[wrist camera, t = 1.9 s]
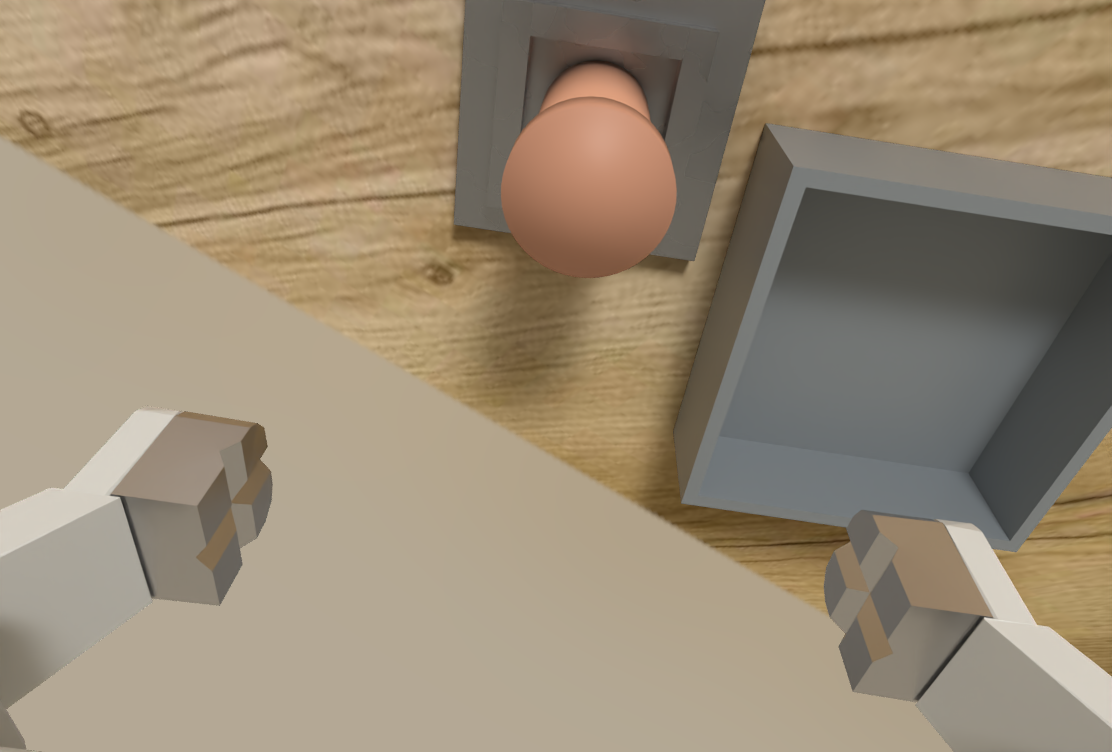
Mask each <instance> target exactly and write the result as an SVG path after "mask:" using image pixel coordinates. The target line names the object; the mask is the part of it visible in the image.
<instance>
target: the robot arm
mask: <svg viewBox="0 0 1112 752" xmlns="http://www.w3.org/2000/svg"><path fill="white" fill-rule="evenodd" d="M266 448H267V440H266V435H265V430H264V427H262V426H261V425H259V424H258V423H252V422H246V421H240V420H234V419H228V418H222V417H216V416H210V415H204V414H198V413H192V412H186V411H185V412H181V411H175V410H169V409H164V408H158V407H152V406H146V407H143V408H140V409H138V410H136V411H135V412H134V413H133V414H132V415H131V416H130V417H129V418H128V419H127V420H126V422H125V423H124V424H123V425H122V426H121V427H120V428H119V429H118V430H117V431H116V432H115V433H114V434H113V436H112V437H111V438H110V439H109V440H108V441H107V442H106V443H105V444H104V445H103V446H102V448H101V449H100V450H99V451H98V452H97V453H96V454H95V455H94V456H93V457H92V458H91V459H90V461H89V462H88V463H87V464H86V465H85V466H84V467H83V468H82V469H81V470H80V471H79V472H78V474H77V475H76V476H75V477H74V478H73V479H72V480H71V481H70V482H69V483H68V484H67V485H66V487H65V488H64V489H57V488H49V489H47V490H44V491H42V492H40V493H38V494H35V495H33V496H31V497H29V498H26V499H24V500H22V501H19V502H17V503H15V504H13V505H10V506H8V507H6V508H3V509H1V510H0V752H40V751H32V750H26V745H25V741H24V738H23V737H22V735H21V733H20V732H19V730H18V728H17V727H16V725H15V723H14V722H13V720H12V718H11V717H10V715H9V713H8V712H7V710H6V709H7V708H8V707H10V706H11V705H12V704H14V703H15V702H17V701H18V700H19V699H21V698H22V697H24V696H25V695H26V694H27V693H29V692H30V691H32V690H33V689H34V688H36V687H37V686H39V685H40V684H41V683H43V682H44V681H45V680H47V679H48V678H50V677H51V676H52V675H54V674H55V673H56V672H58V671H59V670H60V669H62V668H63V667H65V666H66V665H67V664H69V663H70V662H71V661H73V660H74V659H75V658H77V657H78V656H80V655H81V654H82V653H84V652H85V651H86V650H88V649H89V648H91V647H92V646H93V645H95V644H96V643H97V642H99V641H100V640H101V639H103V638H104V637H106V636H107V635H108V634H110V633H111V632H112V631H114V630H115V629H116V628H118V627H119V626H120V625H122V624H123V623H125V622H126V621H127V620H129V619H130V618H132V617H133V616H134V615H136V614H137V613H138V612H140V611H141V610H142V609H144V608H145V607H147V606H148V605H149V604H151V603H152V598H154V599H164V600H172V601H182V602H191V603H200V604H209V605H219V606H220V604H221V603H222V601H223V599H224V597H225V595H226V593H227V592H228V590H229V588H230V586H231V584H232V583H233V581H234V579H235V577H236V575H237V574H238V572H239V570H240V568H241V566H242V558H241V553H240V548H241V547H243V546H245V545H246V544H248V543H250V542H251V541H253V540H255V539H256V538H257V537H258V535H259V533H260V531H261V529H262V527H263V525H264V523H265V521H266V518H267V514H268V511H269V508H270V504H271V500H272V476H271V471H270V470H269V469H268V467H267V466H266V465H265V464H264V463H263V462H262V461H261V460H260V458H261V457H262V455H263V453H264V452H265V450H266ZM846 530H847V532H848V535H849V538H850V541H851V542H849V543H847V544H845V545H844V546H842V547H840V548H838V549H836V550H835V551H834V552H833V554H832V557H831V559H830V561H829V563H828V565H827V567H826V574H825V581H824V594H825V602H826V606H827V609H828V613H829V616H830V618H831V619H832V620H833V621H834V622H835V623H836V624H837V625H838V626H839V627H840V628H841V630H842V631H844V633H845V635H844V637H843V639H842V641H841V643H840V645H839V649H840V652H841V656H842V659H843V662H844V665H845V668H846V671H847V675H848V678H849V681H850V684H851V688H852V691H853V692H857V693H863V694H869V695H876V696H881V697H888V698H894V699H900V700H906V701H912V702H917V704H916V707H917V708H918V709H919V710H920V712H921V713H922V714H923V715H924V716H925V717H926V719H927V720H928V721H929V722H930V723H931V725H932V726H933V727H934V728H935V730H936V731H937V732H938V733H939V735H940V736H941V737H942V738H943V739H944V741H945V742H946V743H947V744H948V745H949V747H950V748H951V749H952V750H953V751H954V752H1112V676H1110V675H1109V674H1108V673H1107V672H1105V671H1104V670H1103V669H1101V668H1100V667H1099V666H1098V665H1096V664H1095V663H1094V662H1093V661H1091V660H1090V659H1089V658H1088V657H1086V656H1085V655H1084V654H1083V653H1081V652H1080V651H1079V650H1077V649H1076V648H1075V647H1074V646H1072V645H1071V644H1070V643H1069V642H1067V641H1066V640H1065V639H1064V638H1062V637H1061V636H1060V635H1058V634H1057V633H1056V632H1055V631H1053V630H1052V629H1051V628H1050V627H1046V626H1040V625H1037V624H1036V623H1035V621H1034V619H1033V617H1032V616H1031V614H1030V612H1029V611H1028V609H1027V607H1026V606H1025V604H1024V602H1023V600H1022V599H1021V597H1020V595H1019V594H1018V592H1017V590H1016V589H1015V587H1014V585H1013V583H1012V582H1011V580H1010V578H1009V577H1008V575H1007V573H1006V572H1005V570H1004V568H1003V567H1002V565H1001V563H1000V561H999V560H998V558H997V556H996V555H995V553H994V551H993V550H992V548H991V546H990V544H989V543H988V541H987V539H986V538H985V536H984V534H983V533H982V531H981V530H980V529H978V528H977V527H976V526H975V525H973V524H971V523H963V522H955V521H947V520H939V519H934V520H932V519H928V518H921V517H913V516H906V515H898V514H891V513H884V512H876V511H869V510H860V511H859V512H858V513H857V514H855V515H854V516H853V518H852V519H851V521H850V523H849V525H848V526H847V528H846Z"/></svg>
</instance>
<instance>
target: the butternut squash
mask: <svg viewBox="0 0 1112 752" xmlns="http://www.w3.org/2000/svg"><path fill="white" fill-rule="evenodd" d="M676 193H677V189H676V179H675V174H674V170H673V165H672V161H671V157H670V153H669V150H668V148H667V145H666V143H665V141H664V139H663V138H662V136H661V134H660V133H659V131H658V130H657V129H656V127H655V126H654V125H653V124H652V123H651V120H650V114H649V108H648V103H647V99H646V96H645V94H644V91H643V89H642V88H641V86H640V84H639V83H638V81H637V80H636V79H635V78H634V77H633V76H632V75H631V74H630V73H629V72H628V71H626V70H625V69H623V68H622V67H620V66H618V65H615V64H613V63H610V62H605V61H586V62H581V63H578V64H576V65H573V66H571V67H569V68H568V69H566V70H565V71H563V72H562V73H561V74H560V75H559V76H558V77H556V79H555V80H554V81H553V82H552V84H551V85H550V87H549V88H548V90H547V92H546V94H545V97H544V100H543V103H542V106H541V109H540V112H539V114H538V115H537V116H535V117H534V118H533V119H532V120H531V121H530V122H529V123H528V124H527V125H526V127H525V128H524V129H523V130H522V132H521V133H520V135H519V136H518V138H517V139H516V141H515V144H514V146H513V148H512V150H511V153H510V155H509V158H508V160H507V163H506V166H505V169H504V173H503V177H502V184H501V202H502V209H503V213H504V217H505V220H506V222H507V225H508V228H509V229H510V231H511V233H512V235H513V237H514V238H515V240H516V241H517V242H518V244H519V245H520V246H521V248H522V249H523V250H524V251H525V252H526V253H527V254H528V255H529V256H531V257H532V258H533V259H534V260H535V261H537V262H538V263H540V264H542V265H543V266H545V267H547V268H549V269H551V270H553V271H555V272H558V273H561V274H564V275H569V276H573V277H582V278H597V277H604V276H609V275H613V274H616V273H619V272H622V271H624V270H627V269H629V268H630V267H632V266H634V265H636V264H637V263H639V262H640V261H642V260H643V259H644V258H646V257H647V256H648V255H649V254H650V253H651V252H652V251H653V250H654V249H655V248H656V247H657V245H658V244H659V243H660V242H661V240H662V239H663V237H664V236H665V234H666V232H667V230H668V228H669V226H670V224H671V221H672V218H673V215H674V211H675V205H676Z"/></svg>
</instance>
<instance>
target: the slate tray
mask: <svg viewBox="0 0 1112 752" xmlns="http://www.w3.org/2000/svg"><path fill="white" fill-rule="evenodd" d="M1111 428H1112V178H1110V177H1103V176H1097V175H1091V174H1084V173H1078V172H1072V171H1065V170H1059V169H1053V168H1046V167H1040V166H1034V165H1027V164H1021V163H1015V162H1008V161H1002V160H996V159H989V158H983V157H976V156H970V155H964V154H957V153H951V152H945V151H938V150H932V149H926V148H919V147H913V146H907V145H900V144H894V143H888V142H881V141H875V140H869V139H862V138H856V137H850V136H843V135H837V134H831V133H824V132H818V131H812V130H805V129H799V128H793V127H786V126H780V125H774V124H767V123H766V124H765V127H764V130H763V134H762V137H761V140H760V144H759V147H758V150H757V154H756V157H755V160H754V164H753V167H752V170H751V174H750V177H749V180H748V184H747V187H746V190H745V194H744V197H743V200H742V204H741V207H740V210H739V214H738V217H737V220H736V224H735V227H734V230H733V234H732V237H731V240H730V244H729V247H728V250H727V254H726V257H725V260H724V264H723V267H722V270H721V274H720V277H719V281H718V284H717V287H716V291H715V294H714V297H713V301H712V304H711V307H710V311H709V314H708V317H707V321H706V324H705V327H704V331H703V334H702V337H701V341H700V344H699V347H698V351H697V354H696V357H695V361H694V364H693V367H692V371H691V374H690V377H689V381H688V384H687V387H686V391H685V394H684V397H683V401H682V404H681V407H680V411H679V414H678V417H677V421H676V424H675V427H674V431H673V434H674V443H675V452H676V461H677V470H678V479H679V488H680V497H681V503H682V504H689V505H696V506H703V507H710V508H717V509H723V510H730V511H737V512H744V513H751V514H758V515H765V516H772V517H778V518H785V519H792V520H799V521H806V522H813V523H820V524H826V525H833V526H840V527H847V526H848V525H849V523H850V521H851V519H852V518H853V516H854V515H855V514H857V513H858V512H859V511H860V510H869V511H876V512H884V513H891V514H898V515H906V516H913V517H921V518H928V519H932V520H934V519H939V520H947V521H955V522H963V523H971V524H973V525H975V526H976V527H977V528H978V529H980V530H981V531H982V533H983V534H984V536H985V538H986V539H987V541H988V543H989V544H990V546H991V548H992V549H998V550H1005V551H1012V552H1017V551H1018V549H1019V548H1020V547H1021V545H1022V544H1023V543H1024V542H1025V540H1026V539H1027V538H1028V536H1029V535H1030V534H1031V532H1032V531H1033V530H1034V528H1035V527H1036V526H1037V525H1038V523H1039V522H1040V521H1041V519H1042V518H1043V517H1044V515H1045V514H1046V513H1047V511H1048V510H1049V509H1050V508H1051V506H1052V505H1053V504H1054V502H1055V501H1056V500H1057V498H1058V497H1059V496H1060V495H1061V493H1062V492H1063V491H1064V489H1065V488H1066V487H1067V485H1068V484H1069V483H1070V481H1071V480H1072V479H1073V478H1074V476H1075V475H1076V474H1077V472H1078V471H1079V470H1080V468H1081V467H1082V466H1083V464H1084V463H1085V462H1086V461H1087V459H1088V458H1089V457H1090V455H1091V454H1092V453H1093V451H1094V450H1095V449H1096V448H1097V446H1098V445H1099V444H1100V442H1101V441H1102V440H1103V438H1104V437H1105V436H1106V434H1107V433H1108V432H1109V431H1110V429H1111Z"/></svg>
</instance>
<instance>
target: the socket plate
mask: <svg viewBox="0 0 1112 752" xmlns="http://www.w3.org/2000/svg"><path fill="white" fill-rule="evenodd" d="M764 4H765V0H466V3H465V22H464V41H463V60H462V79H461V98H460V117H459V136H458V155H457V174H456V193H455V212H454V225H461V226H467V227H474V228H481V229H487V230H494V231H500V232H507V233H511V231H510V229H509V228H508V225H507V222H506V220H505V217H504V213H503V209H502V202H501V184H502V177H503V173H504V169H505V166H506V163H507V160H508V158H509V155H510V153H511V150H512V148H513V146H514V144H515V141H516V139H517V138H518V136H519V135H520V133H521V132H522V130H523V129H524V128H525V127H526V125H527V124H528V123H529V122H530V121H531V120H532V119H533V118H534V117H535V116H537V115H538V114H539V112H540V109H541V106H542V103H543V100H544V97H545V94H546V92H547V90H548V88H549V87H550V85H551V84H552V82H553V81H554V80H555V79H556V77H558V76H559V75H560V74H561V73H562V72H563V71H565V70H566V69H568V68H569V67H571V66H573V65H576V64H578V63H581V62H586V61H605V62H610V63H613V64H615V65H618V66H620V67H622V68H623V69H625V70H626V71H628V72H629V73H630V74H631V75H632V76H633V77H634V78H635V79H636V80H637V81H638V83H639V84H640V86H641V88H642V89H643V91H644V94H645V96H646V99H647V103H648V108H649V114H650V120H651V123H652V124H653V125H654V126H655V127H656V129H657V130H658V131H659V133H660V134H661V136H662V138H663V139H664V141H665V143H666V145H667V148H668V150H669V153H670V157H671V161H672V165H673V170H674V174H675V179H676V189H677V193H676V205H675V211H674V215H673V218H672V221H671V224H670V226H669V228H668V230H667V232H666V234H665V236H664V237H663V239H662V240H661V242H660V243H659V244H658V245H657V247H656V248H655V249H654V250H653V251H652V252H651V253H650V255H657V256H663V257H670V258H676V259H683V260H690V261H695V257H696V253H697V250H698V246H699V242H700V239H701V235H702V231H703V228H704V224H705V220H706V217H707V213H708V209H709V206H710V202H711V198H712V195H713V191H714V187H715V184H716V180H717V176H718V173H719V169H720V165H721V162H722V158H723V154H724V151H725V147H726V143H727V140H728V136H729V132H730V129H731V125H732V121H733V118H734V114H735V110H736V107H737V103H738V99H739V96H740V92H741V88H742V85H743V81H744V77H745V74H746V70H747V66H748V63H749V59H750V55H751V52H752V48H753V44H754V41H755V37H756V33H757V30H758V26H759V22H760V18H761V15H762V11H763V7H764Z"/></svg>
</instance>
